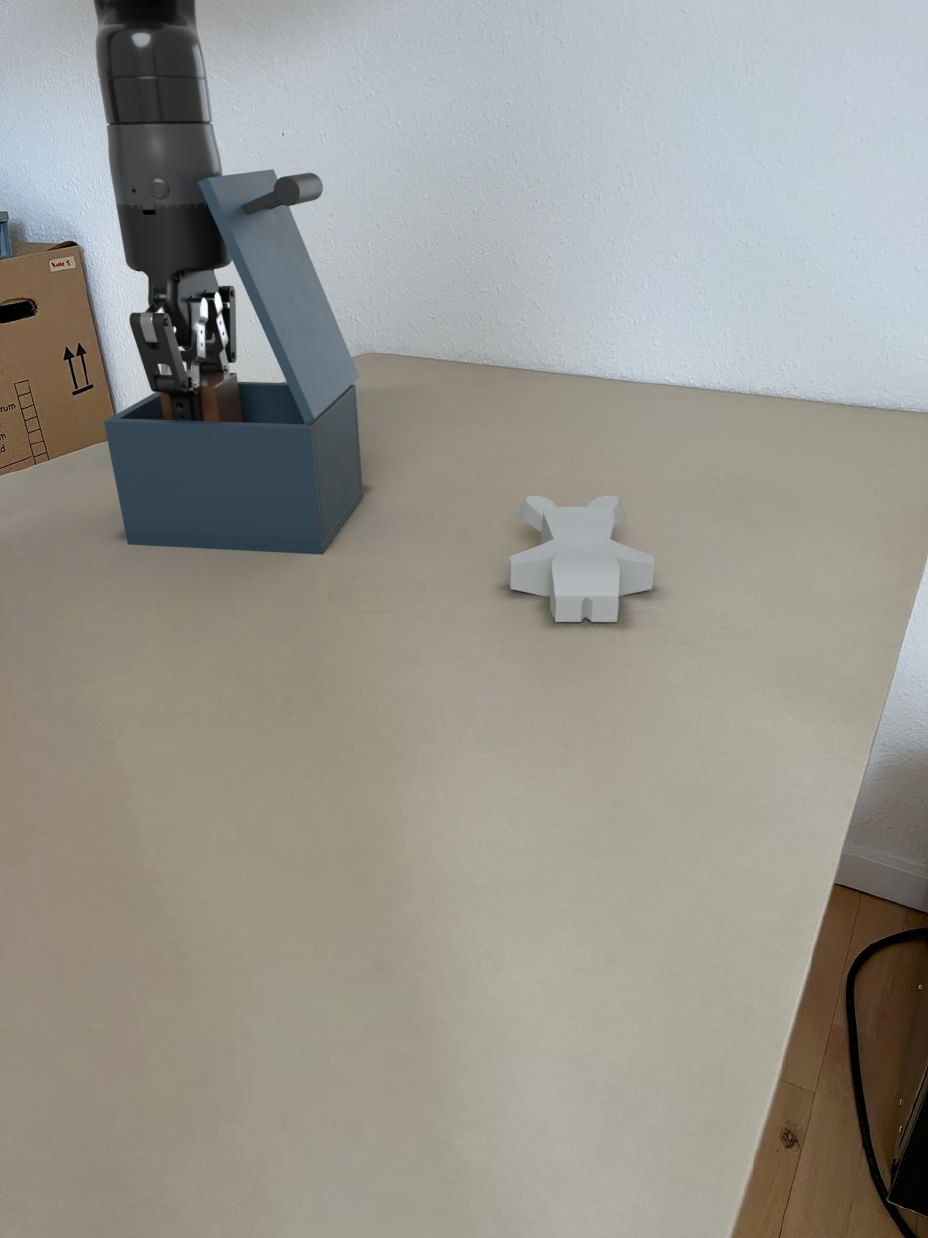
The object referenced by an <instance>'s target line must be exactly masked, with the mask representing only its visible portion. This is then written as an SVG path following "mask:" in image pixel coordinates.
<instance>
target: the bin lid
mask: <svg viewBox="0 0 928 1238" xmlns="http://www.w3.org/2000/svg"><path fill="white" fill-rule="evenodd" d="M198 184H199V186H200V189H201V191H202V193H203V195H204V198H205V200H206V202H207V204H208V206H209V209H210V211H211V213H212V215H213V218H214V220H215V222H216V224H217V227H218V229H219V231H220V233H221V236H222V238H223V240H224V242H225V245H226V247H227V249H228V251H229V254H230V256H231V258H232V263H233V265H234V268H235V269H236V272H237V273H238V276H239V278H240V281H241V282H242V286H243V287H244V290H245V291H246V294H247V296H248V299H249V301H250V303H251V306H252V307H253V309H254V312H255V315H256V316H257V319H258V321H259V323H260V326H261V327H262V330H263V332H264V334H265V337H266V339H267V341H268V343H269V345H270V348H271V350H272V352H273V354H274V356H275V359H276V362H277V363H278V366H279V368H280V370H281V372H282V375H283V377H284V379H285V381H286V383H287V384H288V386H289V388H290V390H291V393H292V395H293V397H294V399H295V402H296V404H297V406H298V408H299V411H300V413H301V415H302V417H303V420H304V422H305V423H306V422H309V421H312V420H314V419H315V418H316V417H318V416H319V415H320V414H321V413H322V412H323V411H324V410H325V409H326V408H327V407H328V406H329V405H330V404H331V403H333V402H334V401H335V400H336V399H337V398H338V397H339V396H340V395H341V394H342V393H343V392H344V391H345V390H346V389H347V388H349V387H350V386H351V385H354V383H355V382H356V381H357V380H358V379H359V378H360V374H359V372H358V370H357V368H356V365H355V363H354V360H353V358H352V355H351V353H350V350H349V348H348V346H347V344H346V341H345V338H344V337H343V334H342V332H341V328H340V326H339V324H338V322H337V319H336V317H335V314H334V312H333V310H332V307H331V305H330V302H329V300H328V297H327V295H326V292H325V290H324V288H323V285H322V282H321V281H320V277H319V275H318V273H317V271H316V269H315V266H314V264H313V261H312V259H311V256H310V254H309V251H308V249H307V247H306V243H305V242H304V239H303V237H302V234H301V232H300V230H299V227H298V225H297V223H296V219H295V218H294V215H293V213H292V211H291V208H290V207H292V206H296V205H300V204H305V203H309V202H312V201H316V200H318V199H319V198H320V197H322V194H323V191H324V185H323V181H322V180H321V177H320V176H318V175H317V173H314V172H313V173H312V172H305V173H304V172H303V173H300V174H291V175H285V176H281V177H279V178H278V176H277V174H276V171H275V169H265V170H257V171H249V172H242V173H241V172H240V173H233V174H225V175H224V174H223V176H216V177H208V178H205V179H203V180H201V181H199V182H198Z"/></svg>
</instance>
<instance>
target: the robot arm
mask: <svg viewBox="0 0 928 1238" xmlns="http://www.w3.org/2000/svg"><path fill="white" fill-rule="evenodd" d="M196 5H197V4H196V0H93V6H94V10H95V11H94V12H95V17H96V21H97V32H96V36H95V61H96V69H97V76H98V81H99V86H100V92H101V98H102V99H101V100H102V104H103V110H104V111H103V112H104V116H105V122H106V124H107V125H106V131H107V146H108V147H107V148H108V149H107V150H108V151H107V153H108V163H109V170H110V177H111V183H112V188H113V189H112V190H113V194H114V200H115V207H116V211H117V217H118V224H119V229H120V236H121V241H122V247H123V248H122V249H123V253H124V260H125V264H126V265H127V267H128V268H129V269H130V270H132V271H134V272H138V273H139V272H141V273H143V274H144V275H146V277H147V279H148V281H147V285H148V287H147V289H148V290H147V291H148V292H147V303H148V307H147V309H146V310H145V311H143V312H131V313H130V315H129V326H130V328H131V332H132V335H133V338H134V341H135V345H136V348H137V350H138V354H139V357H140V360H141V363H142V366H143V369H144V372H145V375H146V379H147V382H148V384H149V385H148V386H149V388H150V390H151V391H152V393H155V392H164V394H168V395H169V397H170V403H171V409H172V416H173V420H178V421H204V416H203V409H202V402H201V395H200V394H198V393H199V389H200V385H199V372H222V373H230V364H235V363H236V362H237V307H236V304H237V303H236V302H237V301H236V300H237V299H236V289H235V287H234V285H219V282H218V280H217V277H216V273H215V270H219V269H223V268H225V267H227V266H230V265H231V263H232V262H233V260H232V258H231V256H230V254H229V251H228V249H227V247H226V245H225V242H224V240H223V238H222V236H221V233H220V231H219V229H218V227H217V224H216V222H215V220H214V218H213V215H212V213H211V211H210V209H209V206H208V204H207V202H206V200H205V198H204V195H203V193H202V191H201V189H200V186H199V184H198V182H199V181H201V180H203V179H205V178H208V177H216V176H224V174H223V167H222V161H221V155H220V151H219V146H218V142H217V139H216V134H215V128H214V124H213V123H212V122H213V114H212V106H211V98H210V90H209V89H210V88H209V82H208V74H207V68H206V62H205V57H204V53H203V49H202V44H201V41H200V37H199V33H198V23H197V22H198V21H197V19H198V18H197V6H196ZM180 348H182V350H180ZM184 363H185V365H184ZM159 365H160V367H159ZM185 367H186V369H185ZM160 369H161V370H160ZM186 372H187V375H186Z"/></svg>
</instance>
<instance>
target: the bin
mask: <svg viewBox="0 0 928 1238" xmlns="http://www.w3.org/2000/svg"><path fill="white" fill-rule="evenodd" d="M238 389H239V397H240V405H241V413H242V421H243V423H242V422H210V421H178V420H164V415H163V409H162V403H161V397H160V392H152V393H151V394H150V395H148V396H146V397H144V398H142V399H140V400H139V401H138V402H136V403H134V404H132V405H130V406H129V407H127V408H125V409H123V410H121V411H119V412H118V413H116V414H114V415H112V416H111V417H109V418H107V419H105V420H103V425H104V430H105V434H106V435H105V436H106V439H107V445H108V450H109V455H110V461H111V465H112V472H113V475H114V480H115V486H116V489H117V496H118V501H119V506H120V512H121V517H122V521H123V527H124V532H125V536H126V537H125V538H126V542H127V545H128V546H131V545H132V546H149V547H167V548H168V547H169V548H184V549H185V548H187V549H206V550H226V551H246V552H264V553H283V554H300V555H301V554H304V555H321V556H322V555H323V554H324V553H325V551H326V550H327V549H328V547H329V546H330V545H331V543H332V541H334V539H335V538H336V536H337V535H338V533H339V532H340V530H341V529H342V527H343V526H344V524H346V522H347V521H348V519H349V517H350V516H351V515H352V513H353V512H354V511H355V509H356V508H357V506H358V505H359V504H360V502H361V501H362V499H363V498H364V490H363V475H362V474H363V473H362V461H361V446H360V431H359V417H358V415H359V414H358V401H357V386H356V384H352V385H351V386H350V387H349V388H347V389H346V390H345V391H344V392H343V393H342V394H341V395H340V396H339V397H338V398H337V399H336V400H335V401H334V402H333V403H331V404H330V405H329V406H328V407H327V408H326V409H325V410H324V411H323V412H322V413H321V414H320V415H319V416H318V417H316V418H315V419H314V420H312V421H309V422H306V423H305V422H304V420H303V417H302V415H301V413H300V411H299V408H298V406H297V404H296V402H295V399H294V397H293V395H292V393H291V390H290V388H289V386H288V384H287V382H266V381H265V382H264V381H261V382H260V381H238Z"/></svg>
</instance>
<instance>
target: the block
mask: <svg viewBox="0 0 928 1238" xmlns="http://www.w3.org/2000/svg"><path fill="white" fill-rule="evenodd" d="M185 372H186V371H185ZM186 375H187V372H186ZM238 382H239V380H238V373H237V372H229V373H222V372H199V385H200V389H199V393H198V394H200V395H201V402H202V409H203V416H204V421H210V422H242V423H243V421H242V413H241V405H240V397H239V389H238ZM160 397H161V403H162V409H163V415H164V420H173V416H172V409H171V403H170V397H169V395H168V394H164V392H160Z"/></svg>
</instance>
